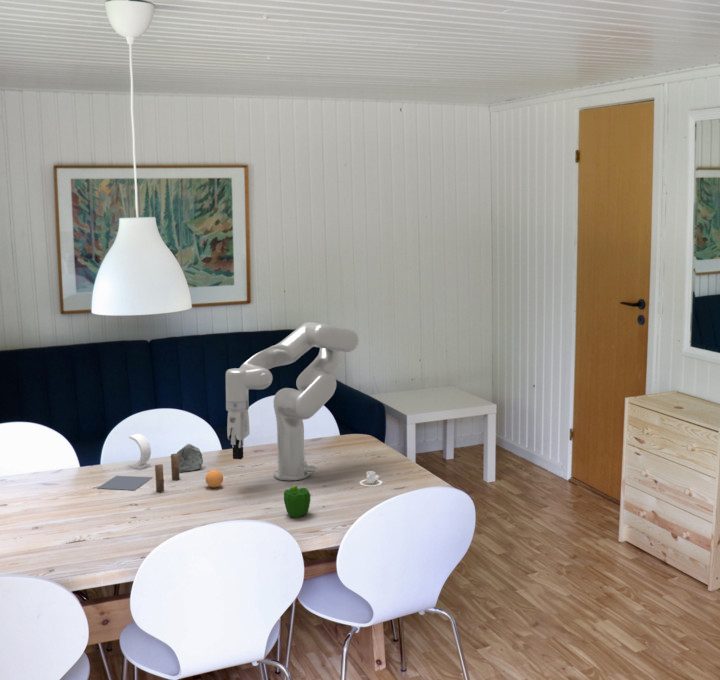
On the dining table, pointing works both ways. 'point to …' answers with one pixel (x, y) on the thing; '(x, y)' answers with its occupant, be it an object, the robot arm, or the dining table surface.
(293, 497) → the bell pepper
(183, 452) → the stone
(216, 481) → the ball
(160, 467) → the post left
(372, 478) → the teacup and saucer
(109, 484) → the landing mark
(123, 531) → the dining table surface
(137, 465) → the headphone stand
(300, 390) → the robot arm
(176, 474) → the post right
